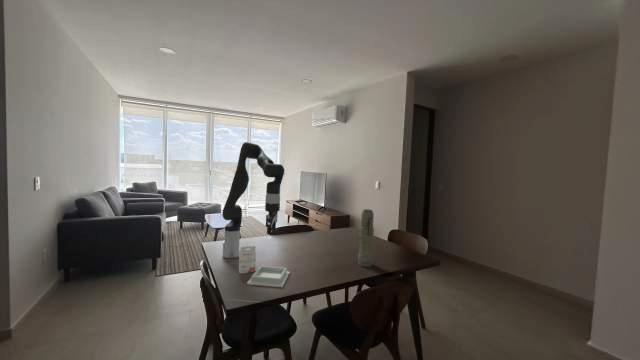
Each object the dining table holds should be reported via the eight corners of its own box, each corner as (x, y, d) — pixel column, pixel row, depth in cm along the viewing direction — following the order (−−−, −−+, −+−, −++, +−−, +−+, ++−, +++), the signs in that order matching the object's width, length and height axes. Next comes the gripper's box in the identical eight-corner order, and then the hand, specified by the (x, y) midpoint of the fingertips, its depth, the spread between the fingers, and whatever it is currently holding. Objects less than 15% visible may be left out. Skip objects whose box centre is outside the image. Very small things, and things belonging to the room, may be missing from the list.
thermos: (366, 260, 175) (368, 208, 173) (375, 267, 164) (378, 211, 162) (354, 261, 172) (357, 208, 170) (363, 268, 161) (366, 211, 159)
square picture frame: (247, 284, 132) (247, 277, 132) (258, 270, 150) (258, 264, 150) (282, 287, 130) (282, 280, 130) (289, 273, 148) (289, 267, 148)
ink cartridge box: (253, 268, 152) (254, 243, 152) (255, 272, 148) (256, 246, 147) (238, 270, 149) (239, 244, 148) (239, 273, 144) (240, 247, 144)
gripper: (269, 200, 146) (268, 229, 146) (261, 203, 131) (260, 235, 132) (282, 200, 145) (281, 229, 146) (276, 204, 131) (274, 236, 132)
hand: (271, 232), depth 139 cm, fingers open, 8 cm apart
